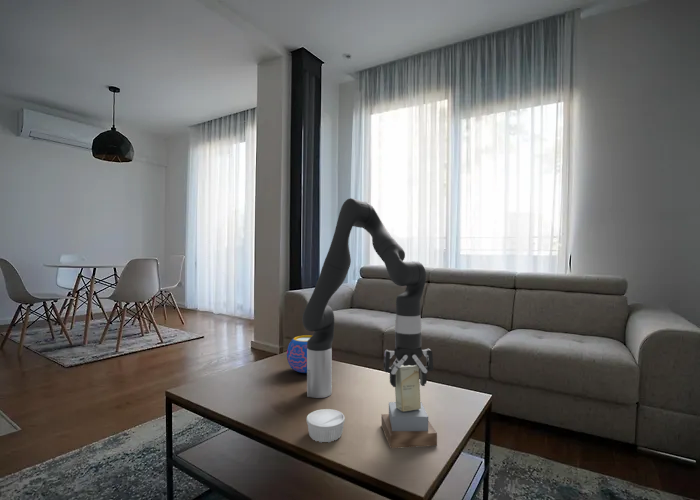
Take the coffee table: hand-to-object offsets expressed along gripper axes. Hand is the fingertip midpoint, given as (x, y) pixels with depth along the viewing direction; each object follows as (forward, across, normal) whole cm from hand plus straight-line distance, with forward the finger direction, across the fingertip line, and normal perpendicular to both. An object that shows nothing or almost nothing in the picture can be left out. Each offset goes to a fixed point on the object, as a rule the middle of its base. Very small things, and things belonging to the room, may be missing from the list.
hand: (408, 385), depth 106 cm
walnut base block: (+15, 0, 0) cm, 15 cm away
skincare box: (+7, 0, 0) cm, 7 cm away
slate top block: (+11, 0, 0) cm, 11 cm away
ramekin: (+15, -24, +3) cm, 28 cm away
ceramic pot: (+15, -30, +60) cm, 69 cm away
